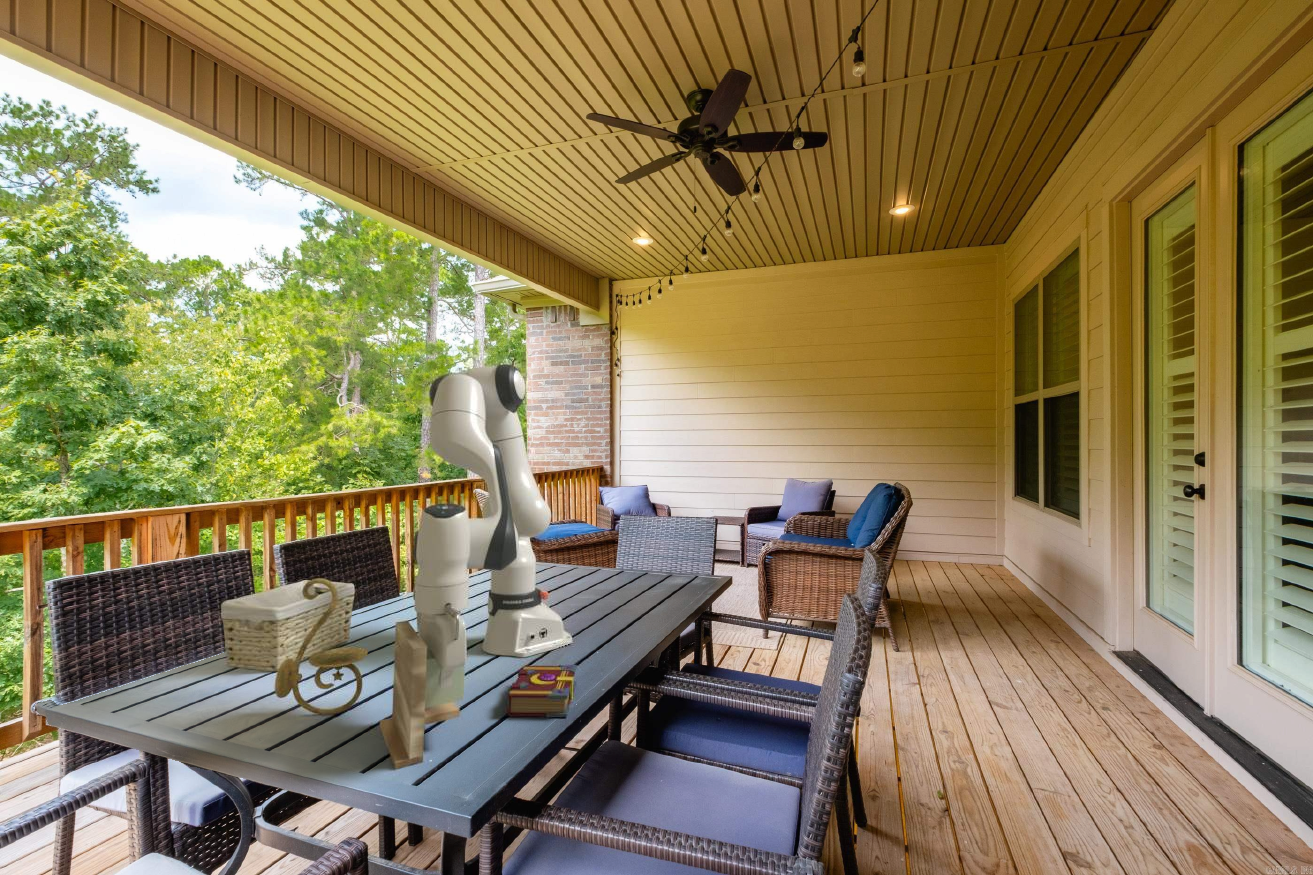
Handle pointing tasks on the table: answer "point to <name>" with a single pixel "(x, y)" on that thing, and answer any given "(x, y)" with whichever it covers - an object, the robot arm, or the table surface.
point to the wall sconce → (319, 661)
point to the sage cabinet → (434, 691)
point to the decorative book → (542, 691)
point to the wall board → (410, 700)
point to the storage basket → (284, 624)
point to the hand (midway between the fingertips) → (439, 677)
